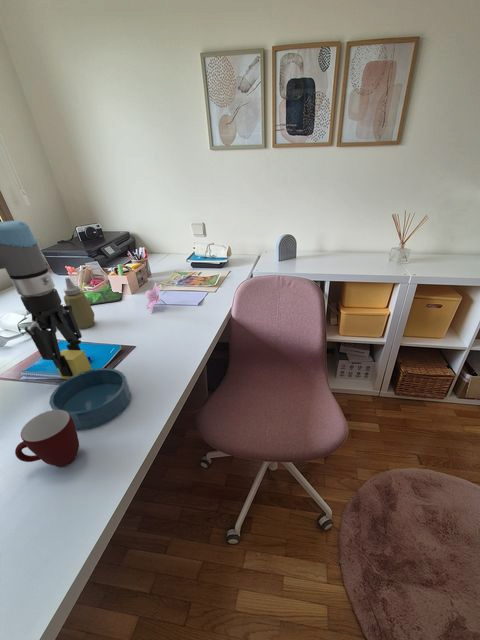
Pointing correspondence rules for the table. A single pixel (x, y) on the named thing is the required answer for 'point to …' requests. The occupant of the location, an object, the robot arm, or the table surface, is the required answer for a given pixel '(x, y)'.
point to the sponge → (75, 362)
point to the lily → (153, 297)
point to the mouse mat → (103, 296)
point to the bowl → (92, 397)
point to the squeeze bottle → (78, 305)
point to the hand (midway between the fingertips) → (74, 369)
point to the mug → (50, 439)
